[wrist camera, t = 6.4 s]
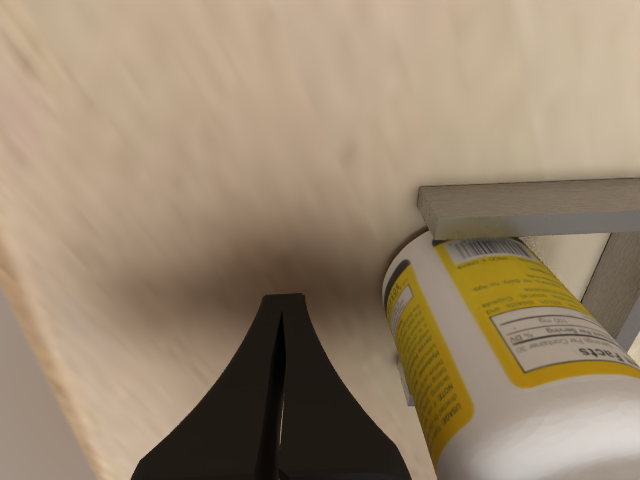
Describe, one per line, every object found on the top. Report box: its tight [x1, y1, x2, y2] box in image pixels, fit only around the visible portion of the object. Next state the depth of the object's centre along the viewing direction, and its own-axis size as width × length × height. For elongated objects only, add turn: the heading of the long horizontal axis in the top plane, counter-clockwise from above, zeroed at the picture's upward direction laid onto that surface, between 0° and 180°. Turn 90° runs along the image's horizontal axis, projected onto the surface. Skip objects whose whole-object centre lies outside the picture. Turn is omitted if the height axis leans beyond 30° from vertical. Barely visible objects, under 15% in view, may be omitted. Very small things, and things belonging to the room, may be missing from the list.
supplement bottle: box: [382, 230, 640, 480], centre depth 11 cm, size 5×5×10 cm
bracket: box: [397, 178, 640, 406], centre depth 14 cm, size 8×8×2 cm
